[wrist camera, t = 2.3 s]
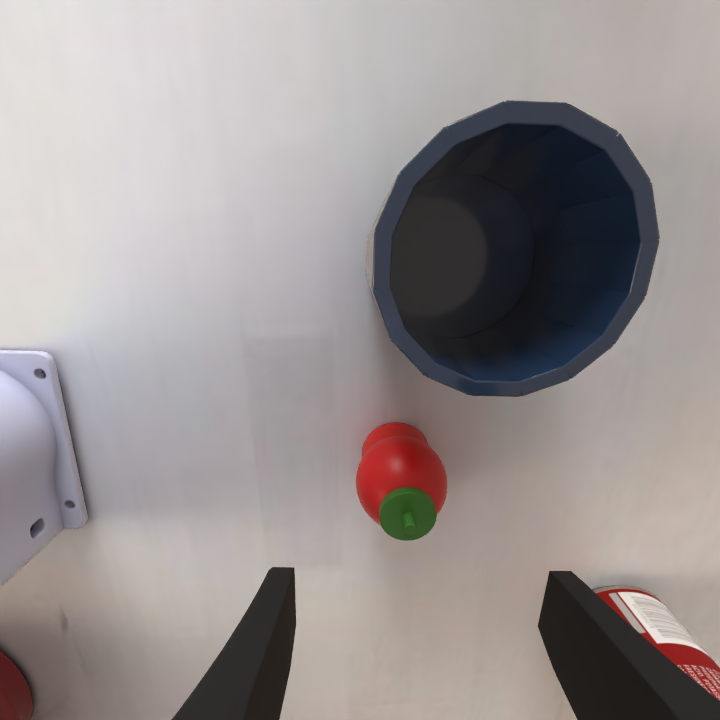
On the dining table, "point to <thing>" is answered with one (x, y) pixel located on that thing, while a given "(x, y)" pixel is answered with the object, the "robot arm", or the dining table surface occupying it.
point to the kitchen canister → (13, 692)
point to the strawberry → (401, 481)
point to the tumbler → (513, 248)
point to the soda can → (663, 632)
